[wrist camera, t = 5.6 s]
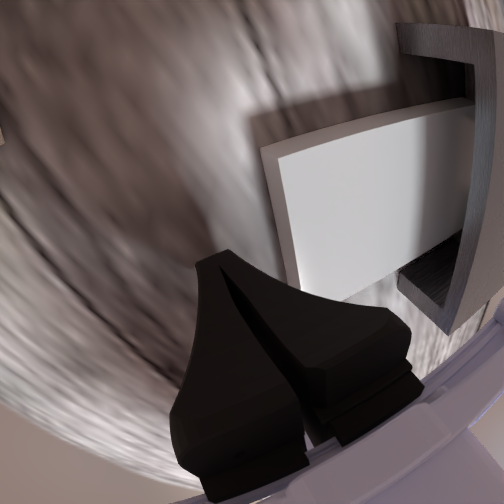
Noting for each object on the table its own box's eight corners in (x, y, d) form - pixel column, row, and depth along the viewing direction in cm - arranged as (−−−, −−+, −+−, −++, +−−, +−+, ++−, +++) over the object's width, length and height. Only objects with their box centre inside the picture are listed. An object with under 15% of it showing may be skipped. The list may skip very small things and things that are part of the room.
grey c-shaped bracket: (458, 248, 21) (505, 283, 17) (397, 289, 20) (448, 336, 16) (470, 31, 11) (543, 46, 7) (395, 23, 10) (493, 30, 6)
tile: (449, 209, 19) (470, 222, 17) (286, 294, 16) (305, 319, 15) (455, 95, 14) (482, 103, 12) (253, 145, 12) (277, 158, 10)
